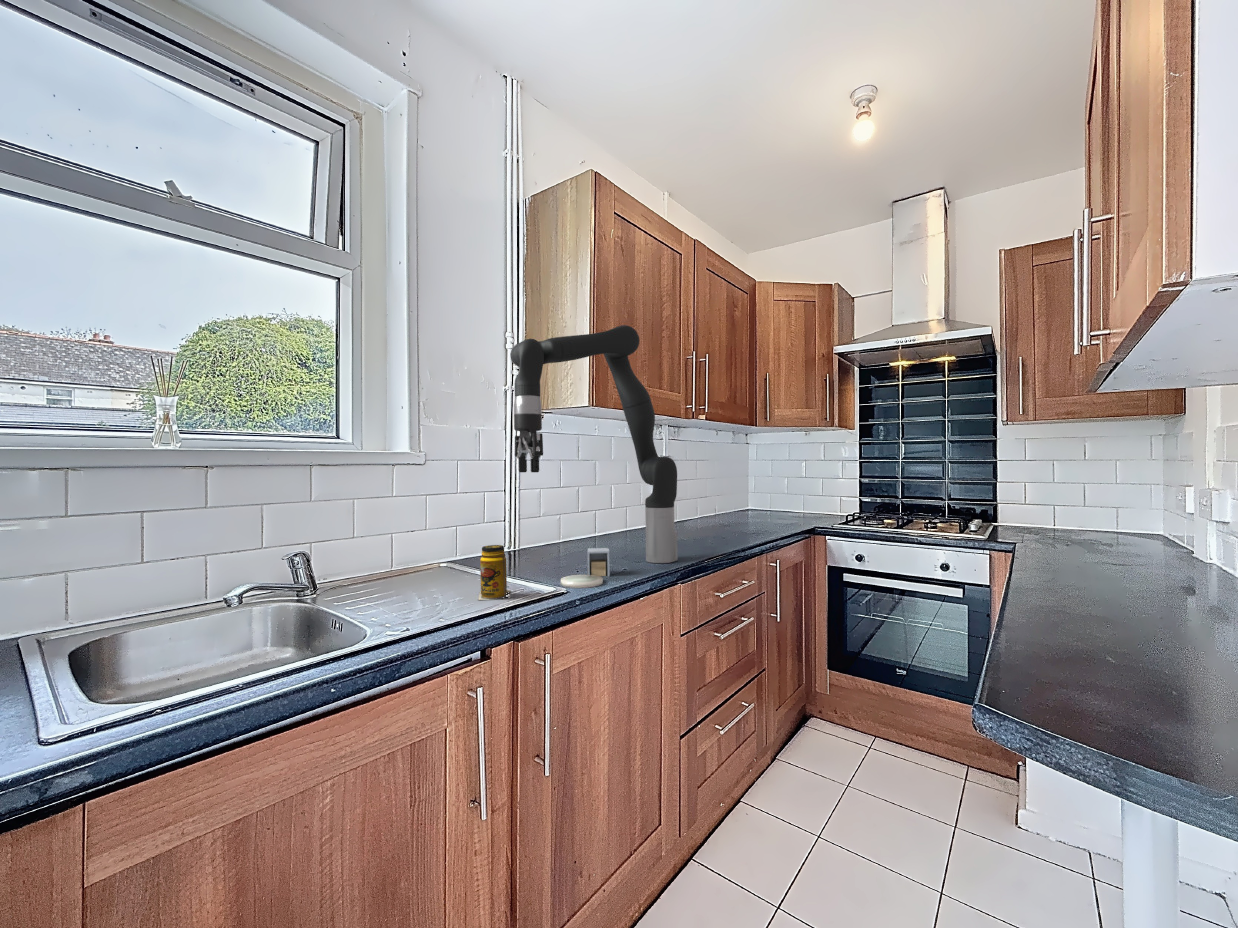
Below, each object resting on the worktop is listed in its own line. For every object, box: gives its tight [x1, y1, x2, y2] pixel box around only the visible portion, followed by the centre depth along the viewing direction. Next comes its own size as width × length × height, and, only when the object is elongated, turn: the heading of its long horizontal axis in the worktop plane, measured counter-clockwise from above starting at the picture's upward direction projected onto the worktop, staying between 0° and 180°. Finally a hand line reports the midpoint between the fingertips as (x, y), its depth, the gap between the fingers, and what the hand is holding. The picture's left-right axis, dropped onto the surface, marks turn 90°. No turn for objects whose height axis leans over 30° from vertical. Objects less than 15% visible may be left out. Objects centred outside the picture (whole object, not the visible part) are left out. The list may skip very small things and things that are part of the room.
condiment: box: [478, 544, 511, 601], centre depth 133 cm, size 7×8×12 cm
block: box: [590, 560, 607, 577], centre depth 157 cm, size 4×4×4 cm
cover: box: [587, 547, 610, 578], centre depth 157 cm, size 6×6×7 cm
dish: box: [560, 574, 604, 589], centre depth 146 cm, size 11×11×1 cm
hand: (528, 472), depth 153 cm, fingers open, 8 cm apart
